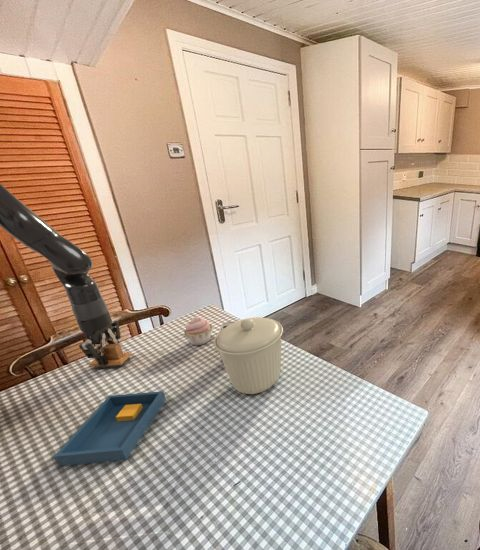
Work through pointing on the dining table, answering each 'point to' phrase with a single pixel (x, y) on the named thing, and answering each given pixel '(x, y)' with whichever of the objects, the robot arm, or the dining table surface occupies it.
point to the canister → (251, 353)
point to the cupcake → (198, 331)
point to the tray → (110, 431)
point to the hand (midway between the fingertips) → (110, 359)
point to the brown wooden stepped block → (112, 356)
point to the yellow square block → (129, 412)
